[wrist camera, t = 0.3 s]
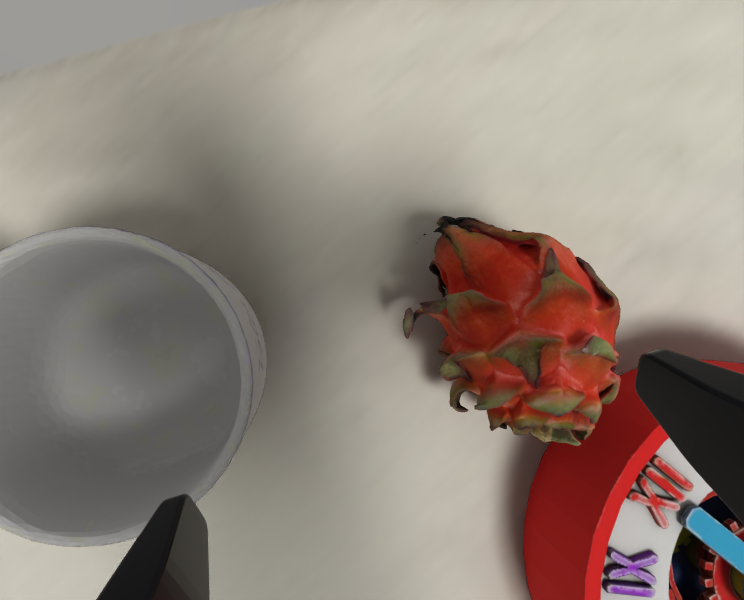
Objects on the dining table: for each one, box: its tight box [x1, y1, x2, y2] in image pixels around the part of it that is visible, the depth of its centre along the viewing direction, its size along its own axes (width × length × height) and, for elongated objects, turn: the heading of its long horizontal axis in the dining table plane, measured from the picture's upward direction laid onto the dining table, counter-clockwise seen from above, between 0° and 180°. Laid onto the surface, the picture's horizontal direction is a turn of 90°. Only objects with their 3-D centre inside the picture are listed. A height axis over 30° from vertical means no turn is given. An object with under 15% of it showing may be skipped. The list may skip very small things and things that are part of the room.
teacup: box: [0, 226, 267, 547], centre depth 18 cm, size 14×11×8 cm
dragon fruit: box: [403, 216, 621, 446], centre depth 20 cm, size 8×8×12 cm
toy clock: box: [523, 360, 744, 600], centre depth 22 cm, size 20×6×20 cm
